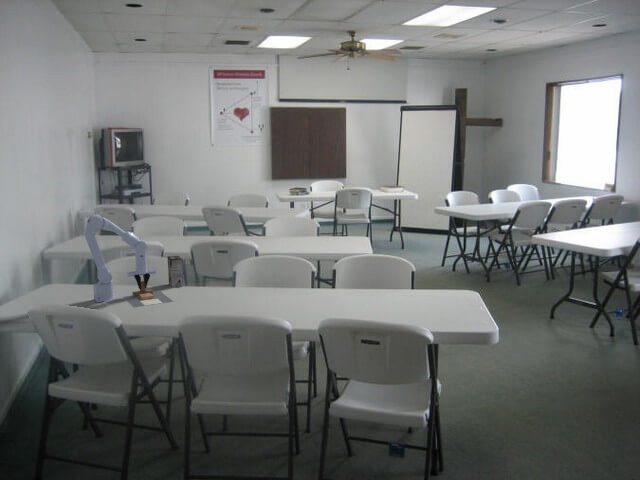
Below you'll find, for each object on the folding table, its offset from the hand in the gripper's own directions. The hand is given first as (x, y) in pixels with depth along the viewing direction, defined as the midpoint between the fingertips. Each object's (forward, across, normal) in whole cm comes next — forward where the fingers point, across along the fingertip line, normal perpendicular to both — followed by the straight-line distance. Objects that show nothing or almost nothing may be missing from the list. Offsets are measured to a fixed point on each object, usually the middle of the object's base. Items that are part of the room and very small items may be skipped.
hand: (142, 288), depth 323 cm
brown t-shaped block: (+4, 0, 0) cm, 4 cm away
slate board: (+4, 0, +9) cm, 10 cm away
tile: (+4, 0, +6) cm, 7 cm away
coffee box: (+4, -22, -13) cm, 26 cm away
